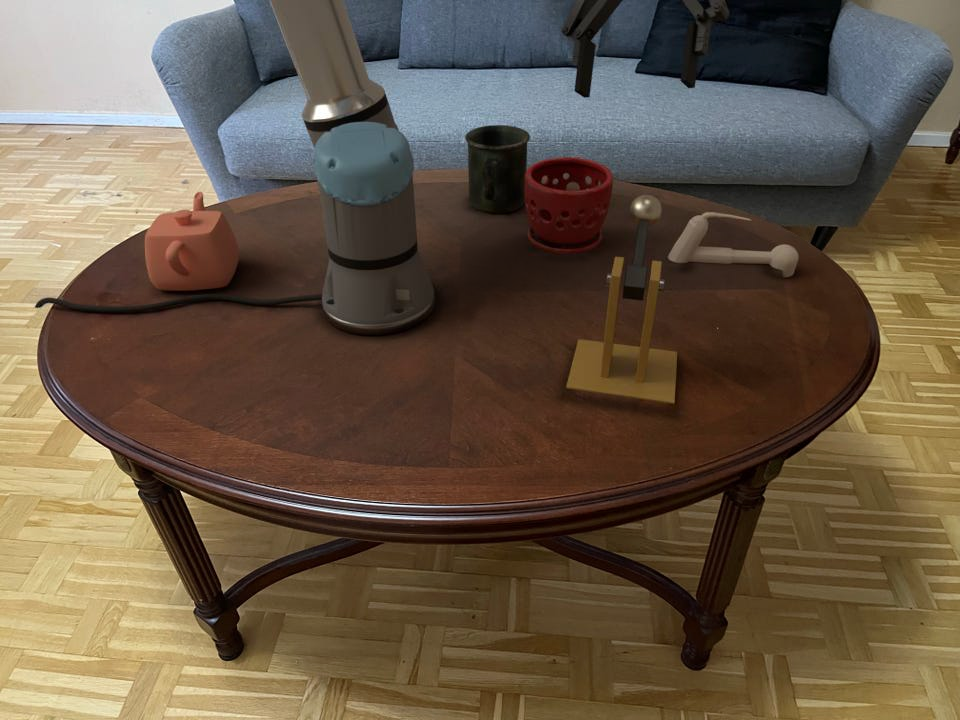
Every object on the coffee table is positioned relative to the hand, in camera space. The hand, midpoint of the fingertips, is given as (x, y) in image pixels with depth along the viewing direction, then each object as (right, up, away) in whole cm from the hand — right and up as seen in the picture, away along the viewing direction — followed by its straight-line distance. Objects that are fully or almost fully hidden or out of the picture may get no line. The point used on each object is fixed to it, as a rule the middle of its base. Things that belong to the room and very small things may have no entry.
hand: (632, 89), depth 86 cm
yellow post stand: (-1, -35, -1) cm, 35 cm away
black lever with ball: (0, -20, -5) cm, 21 cm away
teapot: (-60, -20, +21) cm, 66 cm away
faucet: (+19, -19, +21) cm, 34 cm away
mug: (-16, -6, +40) cm, 43 cm away
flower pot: (-5, -14, +27) cm, 31 cm away
